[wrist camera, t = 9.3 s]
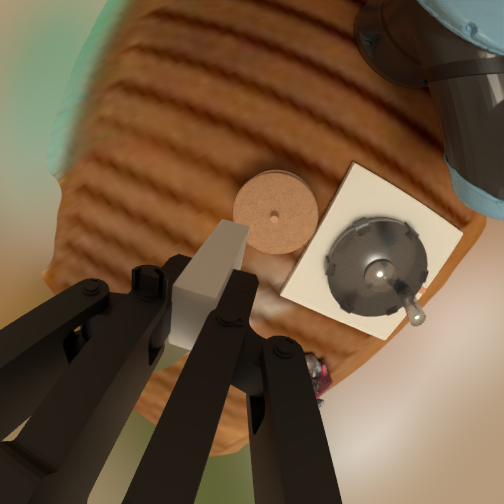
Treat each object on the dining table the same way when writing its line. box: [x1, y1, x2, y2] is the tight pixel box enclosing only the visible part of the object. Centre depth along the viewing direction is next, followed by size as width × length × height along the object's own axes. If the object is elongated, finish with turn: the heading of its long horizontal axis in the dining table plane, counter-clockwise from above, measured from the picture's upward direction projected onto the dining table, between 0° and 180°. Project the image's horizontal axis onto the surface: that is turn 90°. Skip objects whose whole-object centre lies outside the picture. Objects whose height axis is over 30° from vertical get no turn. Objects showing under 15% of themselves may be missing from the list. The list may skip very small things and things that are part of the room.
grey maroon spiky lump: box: [305, 354, 332, 409], centre depth 54 cm, size 11×11×12 cm
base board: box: [280, 162, 463, 340], centre depth 45 cm, size 24×22×2 cm
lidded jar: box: [233, 170, 318, 254], centre depth 40 cm, size 11×11×9 cm
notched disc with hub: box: [324, 217, 429, 326], centre depth 40 cm, size 16×17×9 cm
